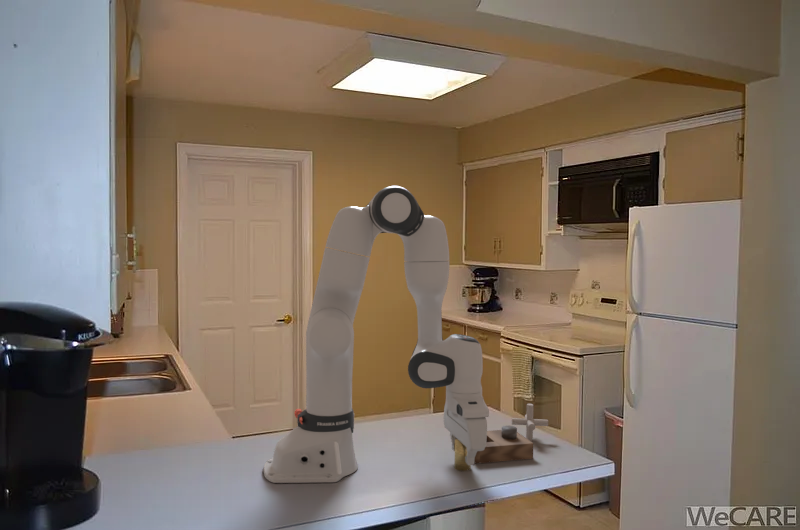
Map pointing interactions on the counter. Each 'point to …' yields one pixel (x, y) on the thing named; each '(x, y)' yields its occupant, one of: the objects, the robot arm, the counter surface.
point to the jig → (505, 446)
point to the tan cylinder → (460, 456)
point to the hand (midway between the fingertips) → (462, 457)
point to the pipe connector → (529, 422)
